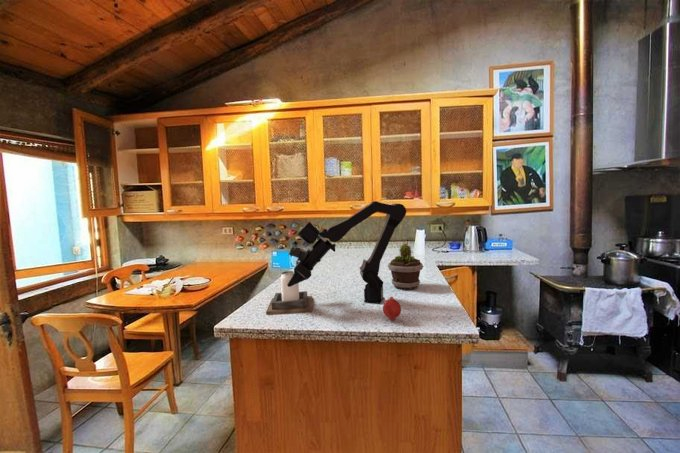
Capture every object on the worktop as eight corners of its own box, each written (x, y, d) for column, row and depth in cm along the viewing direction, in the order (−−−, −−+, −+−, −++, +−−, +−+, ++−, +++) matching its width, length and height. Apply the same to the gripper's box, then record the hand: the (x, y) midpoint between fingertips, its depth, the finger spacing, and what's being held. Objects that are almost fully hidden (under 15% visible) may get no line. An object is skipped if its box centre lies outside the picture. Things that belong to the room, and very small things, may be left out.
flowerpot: (421, 292, 135) (420, 244, 134) (385, 290, 141) (383, 244, 139) (425, 283, 149) (424, 239, 147) (391, 281, 154) (390, 239, 152)
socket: (312, 298, 134) (311, 289, 134) (311, 311, 118) (311, 302, 118) (272, 300, 133) (271, 292, 132) (266, 314, 117) (265, 304, 117)
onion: (381, 317, 109) (380, 294, 109) (398, 316, 110) (397, 293, 109) (385, 324, 104) (384, 299, 103) (403, 323, 104) (402, 298, 103)
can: (291, 307, 120) (289, 275, 119) (278, 305, 123) (276, 273, 122) (303, 302, 125) (301, 271, 124) (290, 300, 129) (288, 270, 128)
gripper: (302, 235, 133) (276, 264, 133) (299, 241, 114) (269, 274, 114) (322, 253, 134) (296, 281, 134) (323, 262, 115) (293, 295, 116)
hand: (289, 282), depth 125 cm, fingers open, 9 cm apart
